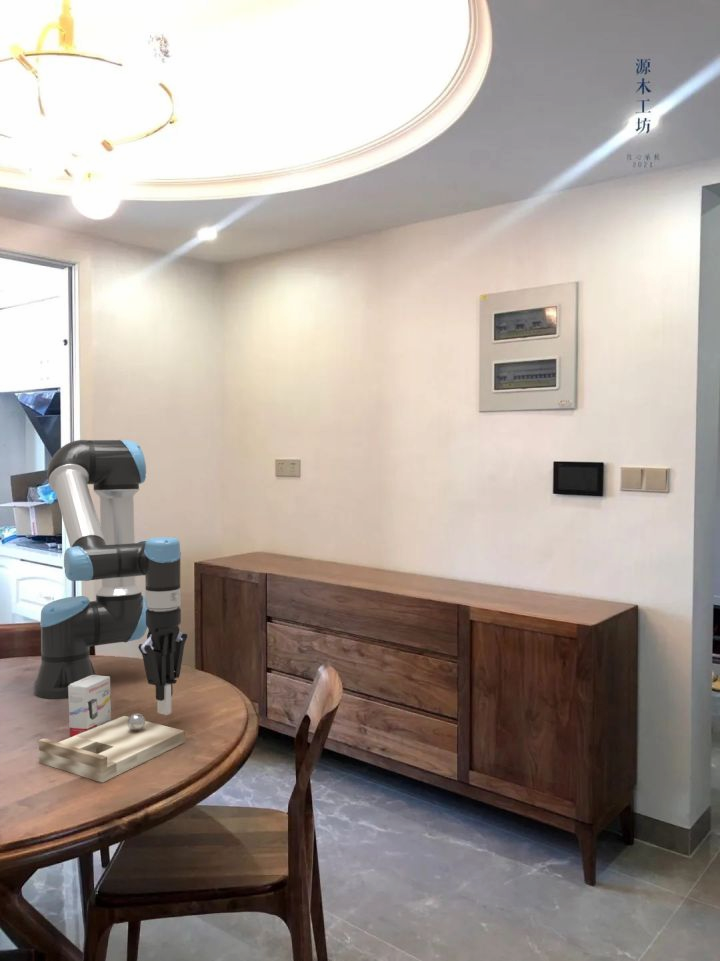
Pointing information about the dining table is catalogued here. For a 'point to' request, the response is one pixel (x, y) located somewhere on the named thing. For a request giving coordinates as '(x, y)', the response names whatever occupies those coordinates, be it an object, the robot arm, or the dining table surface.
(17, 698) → the dining table surface
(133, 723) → the ball
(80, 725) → the ink box
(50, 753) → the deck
